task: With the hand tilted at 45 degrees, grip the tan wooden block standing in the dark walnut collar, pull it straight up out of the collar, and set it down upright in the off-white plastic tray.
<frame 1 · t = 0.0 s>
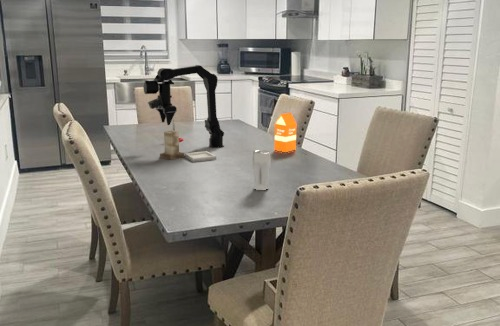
hand: (165, 123, 251), 15 cm above the table, tool pointing down, fingers open, 9 cm apart
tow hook: (175, 141, 282), on the table
orange juice: (285, 151, 258), on the table
tan wooden block: (171, 144, 240), in the walnut collar
tray: (200, 158, 240), on the table
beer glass: (261, 189, 191), on the table
walnut collar: (172, 157, 241), on the table
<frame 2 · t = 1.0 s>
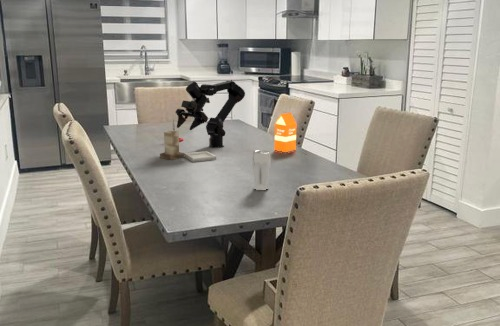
hand: (183, 128, 245), 13 cm above the table, tool tilted 45°, fingers open, 9 cm apart
nothing on the table moved.
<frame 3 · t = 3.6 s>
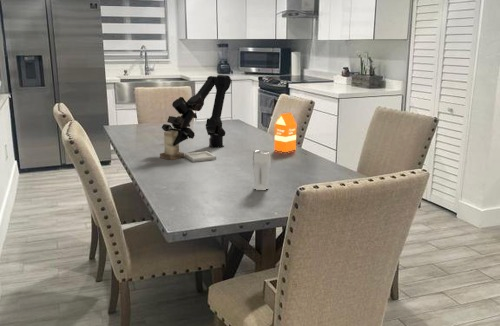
hand: (169, 144, 239), 7 cm above the table, tool tilted 45°, fingers closed on tan wooden block, 5 cm apart
tan wooden block: (171, 144, 240), in the walnut collar, touching gripper
everything else where it was.
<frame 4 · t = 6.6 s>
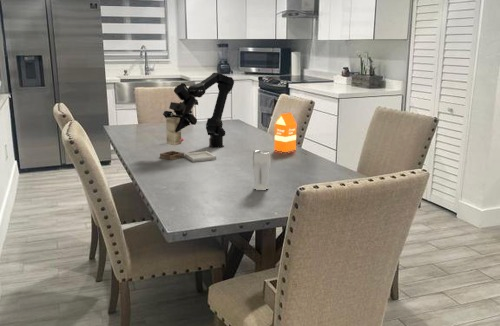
hand: (171, 131, 237), 13 cm above the table, tool tilted 45°, fingers closed on tan wooden block, 5 cm apart
tan wooden block: (173, 131, 238), point 13 cm above the table, touching gripper
everything else where it was.
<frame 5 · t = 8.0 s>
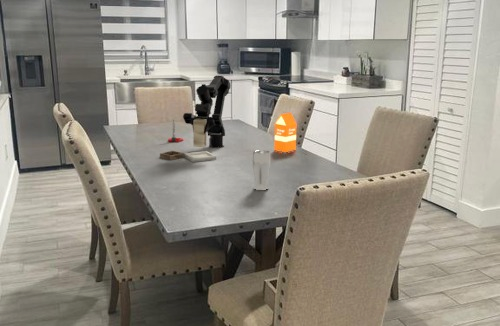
hand: (199, 133, 235), 13 cm above the table, tool tilted 45°, fingers closed on tan wooden block, 5 cm apart
tan wooden block: (199, 132, 237), point 13 cm above the table, touching gripper
everything else where it was.
when the fingers open (8 cm above the table, at t = 9.3 s): tan wooden block drops 1 cm, resting on tray.
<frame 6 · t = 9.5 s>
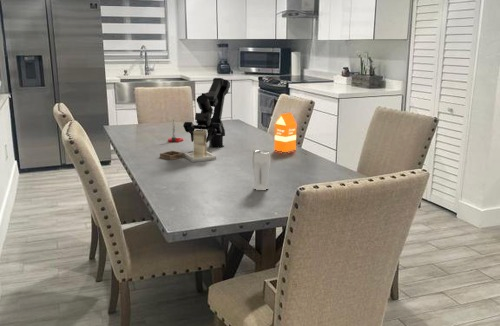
hand: (199, 141, 236), 9 cm above the table, tool tilted 45°, fingers open, 7 cm apart
tan wooden block: (200, 143, 238), in the tray, point 7 cm above the table
everything else where it was.
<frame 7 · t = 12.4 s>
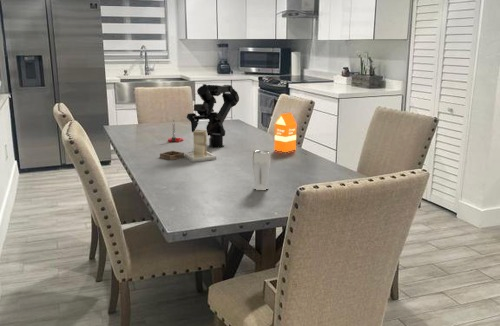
hand: (199, 131, 246), 12 cm above the table, tool tilted 40°, fingers open, 9 cm apart
nothing on the table moved.
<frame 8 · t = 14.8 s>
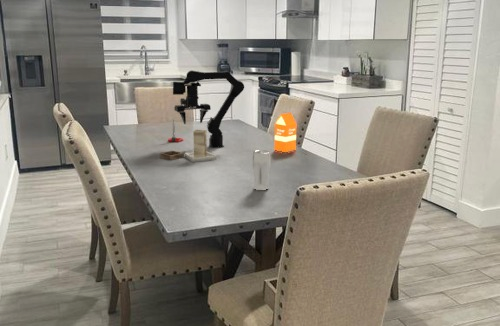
hand: (192, 123, 262), 13 cm above the table, tool pointing down, fingers open, 9 cm apart
nothing on the table moved.
at the end: tan wooden block inside the target area on the tray (0.0 cm from its centre), point 7.3 cm above the tray's base; tan wooden block tilted 0°; the gripper is holding nothing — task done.
